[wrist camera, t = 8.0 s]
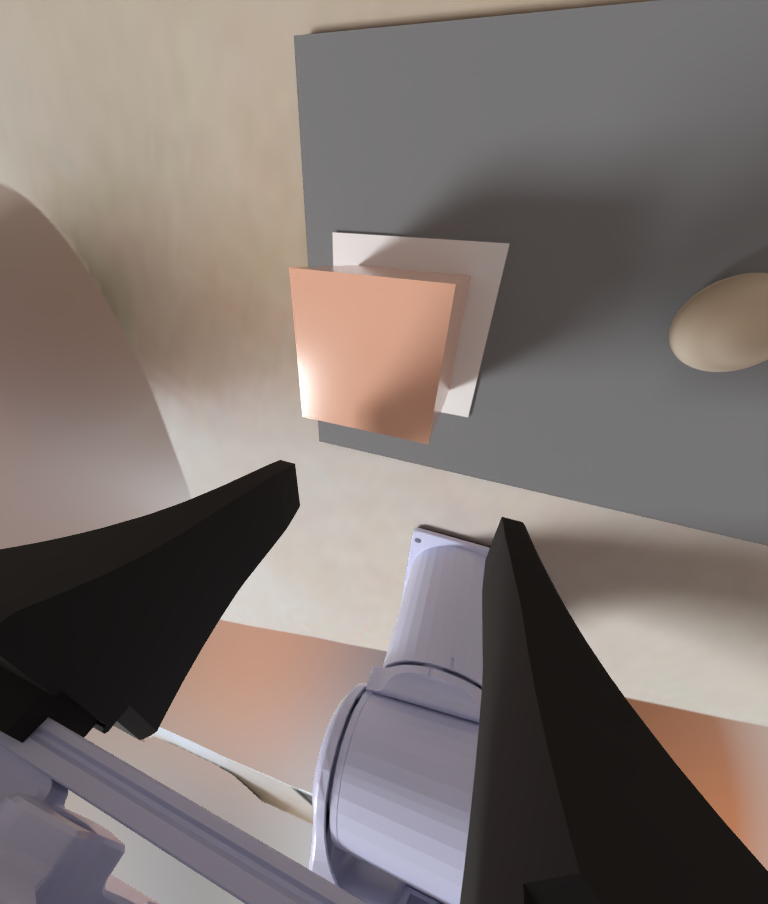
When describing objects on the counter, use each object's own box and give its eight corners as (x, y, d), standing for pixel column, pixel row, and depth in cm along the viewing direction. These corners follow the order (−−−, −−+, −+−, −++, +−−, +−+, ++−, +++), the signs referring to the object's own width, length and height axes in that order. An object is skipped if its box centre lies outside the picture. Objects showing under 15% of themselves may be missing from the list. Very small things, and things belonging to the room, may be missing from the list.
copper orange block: (449, 390, 16) (428, 444, 12) (356, 373, 18) (302, 416, 13) (471, 275, 14) (455, 284, 9) (358, 264, 15) (289, 267, 10)
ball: (727, 364, 13) (785, 391, 10) (638, 353, 13) (672, 375, 11) (788, 275, 11) (879, 280, 8) (682, 267, 12) (736, 269, 9)
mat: (792, 544, 16) (805, 556, 15) (323, 437, 22) (318, 442, 21) (1520, -64, 6) (1641, -102, 5) (302, 44, 12) (291, 32, 11)
